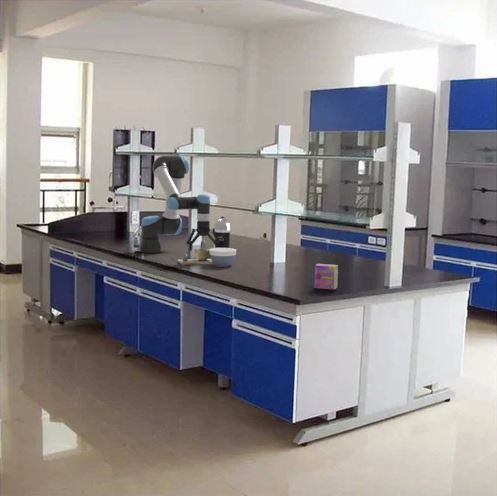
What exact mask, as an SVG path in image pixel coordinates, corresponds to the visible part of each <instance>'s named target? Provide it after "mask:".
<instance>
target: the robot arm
mask: <svg viewBox="0 0 497 496" xmlns="http://www.w3.org/2000/svg"><path fill="white" fill-rule="evenodd" d="M152 172H153V175H154V176H155V178H157V180H158V181H159V183H160V186H161V187H162V190H163V192H164V194H165V195H166V199H165V209H164V212H163V213H162V215H161V217H160V216H159V215H148V216H145V217H143V218H142V219H141V224H140V225H141V240H140V245H139V247H138V252H139V253H143V254H144V253H145V254H157V253H162V252H163V248H162V244H161V240H160V236H175V235H178V234H180V233H181V232H182V230H183V229H182V228H183V220H182V218H181V216H180V214H179V211H180V210H181V211H182V210H197V211H196V214H197V215H196V220H197V221H196V228H191V232H190V234H189V236H188V239H187V240H186V244H187V245H188V246H189V251H190V256H191V257H194V243H196V241H197V239H198V238H199V237H200V236H201V237H208V238H209V239H210V241H211V243H212V248H217V244H218V243H220V242H219V240H218V237H217V235H216V233H215V227H211V228H210V222H211V221H209V220H211V219H210V217H211V216H210V213H211V212H210V211H211V209H210V208H211V199H210V198H211V197H210V195H209V194H197V196H186V197H185V196H183V197H182V196H181V191H182V190H181V189H182V188H181V187H182V181H183V179H185V177H186V176H185V175H187V174H188V173H189V172H190V165H189V161H188V158H186V157H185V155H184V156H183V155H161V156H159V157H157V158H156V159H155V160H154V162H153V163H152ZM210 232H211V233H212V235H211V234H210ZM195 233H196V234H195ZM194 235H195V236H194ZM212 236H213V237H212ZM215 240H216V241H215Z"/></svg>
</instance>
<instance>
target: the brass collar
mask: <svg viewBox="0 0 497 496" xmlns="http://www.w3.org/2000/svg"><path fill="white" fill-rule="evenodd" d="M210 249H211V248H206V250H202V251H201V248H194V252H193V257H194V259H211V258H210V252H209V250H210Z"/></svg>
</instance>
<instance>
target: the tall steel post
mask: <svg viewBox="0 0 497 496" xmlns="http://www.w3.org/2000/svg"><path fill="white" fill-rule="evenodd" d="M206 245H207V243H206V241H205V240H201V241H200V249H201V251H202V250H206V249H207V248H206ZM199 261H207V259H199Z"/></svg>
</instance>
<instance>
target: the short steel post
mask: <svg viewBox="0 0 497 496" xmlns="http://www.w3.org/2000/svg"><path fill="white" fill-rule="evenodd" d="M188 259H189V254H187V253H185V254H182V260H183V261H185V262H186V261H188Z"/></svg>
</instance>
